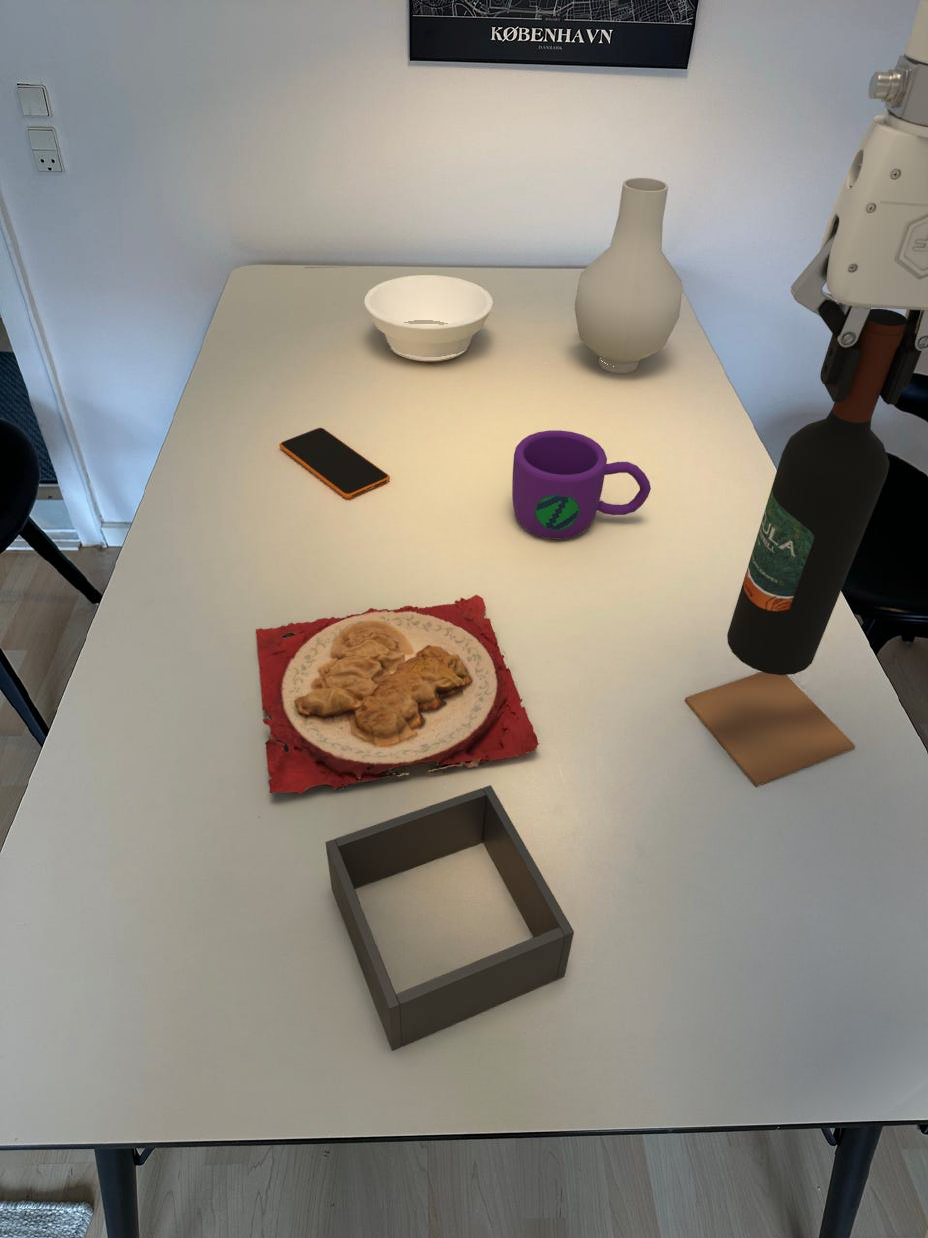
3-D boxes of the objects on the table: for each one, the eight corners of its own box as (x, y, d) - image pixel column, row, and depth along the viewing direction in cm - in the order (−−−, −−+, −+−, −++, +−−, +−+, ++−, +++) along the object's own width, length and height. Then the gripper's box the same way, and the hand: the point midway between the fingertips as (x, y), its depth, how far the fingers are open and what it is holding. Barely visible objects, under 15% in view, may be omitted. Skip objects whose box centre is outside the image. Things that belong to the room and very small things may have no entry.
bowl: (438, 310, 163) (438, 264, 158) (516, 352, 152) (519, 304, 146) (341, 341, 153) (338, 293, 148) (418, 388, 141) (417, 339, 136)
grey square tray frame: (565, 976, 71) (574, 931, 67) (391, 1051, 67) (388, 1009, 62) (487, 832, 81) (491, 784, 76) (331, 889, 77) (325, 841, 72)
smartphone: (346, 500, 118) (346, 495, 118) (278, 448, 127) (277, 442, 127) (392, 480, 122) (392, 475, 122) (322, 430, 131) (322, 425, 131)
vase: (656, 341, 156) (687, 167, 137) (679, 387, 144) (717, 203, 125) (561, 342, 155) (579, 166, 136) (576, 388, 143) (598, 202, 124)
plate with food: (539, 761, 87) (543, 737, 85) (270, 802, 82) (267, 778, 80) (480, 605, 105) (482, 581, 103) (255, 630, 100) (252, 606, 97)
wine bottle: (812, 684, 76) (950, 350, 56) (722, 662, 78) (824, 330, 58) (816, 627, 82) (943, 304, 61) (731, 608, 83) (828, 287, 63)
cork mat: (854, 749, 89) (855, 745, 89) (755, 787, 86) (757, 783, 85) (777, 669, 97) (778, 665, 97) (684, 700, 94) (685, 697, 93)
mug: (508, 543, 113) (513, 475, 106) (510, 491, 121) (515, 425, 114) (647, 551, 112) (661, 484, 105) (640, 499, 121) (652, 433, 114)
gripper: (834, 109, 48) (751, 415, 61) (1141, 121, 48) (996, 427, 60) (802, 78, 54) (732, 364, 66) (1077, 89, 54) (956, 374, 66)
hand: (859, 391), depth 63 cm, fingers closed on wine bottle, 2 cm apart
